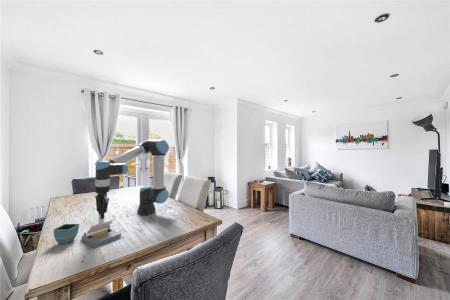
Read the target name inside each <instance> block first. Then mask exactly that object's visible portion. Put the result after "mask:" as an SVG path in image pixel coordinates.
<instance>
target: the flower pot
mask: <svg viewBox="0 0 450 300" xmlns="http://www.w3.org/2000/svg"><path fill="white" fill-rule="evenodd" d="M79 229H80V223H65V224H62V225H60V226H59V227H57V228H56V227H55V229H52V230H53V237H54V240H55V241H56V242H57V243H58V244H69V243H70V242H72V241H74V240H75V238H76V237H77V236H78V233H79Z"/></svg>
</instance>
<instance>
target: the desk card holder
mask: <svg viewBox="0 0 450 300" xmlns="http://www.w3.org/2000/svg"><path fill="white" fill-rule="evenodd" d="M104 230H107V231H108V233H105V234H102V235H99V236H96V237H93V238H91V235H92V234H94V233H97V232H100V231H104ZM120 238H122V233H121V232H119V231H116V230H115V229H112V228H111V224H110V225H109V227H108V228H105V229H101V230H98V231H95V232H92V233H89V234H87V232H83V235H81V241H83V242H84V243H85V244H88V246H90V247H92V248H93V249H95V248H97V247H100V246H102V245H105V244H107V243H110V242H113V241H115V240H118V239H120Z"/></svg>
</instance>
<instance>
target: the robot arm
mask: <svg viewBox="0 0 450 300" xmlns="http://www.w3.org/2000/svg"><path fill="white" fill-rule="evenodd" d="M169 149H170V146H169V144H168V142H167V141H166V140H164V139H147V140H145V141H143V142H141V143H138V144H137V145H136V146H134V147H132V148H131V149H129V150H126V151H124V152H123V153H121V154H119V155H117V156H114V157H113V158H111V159H109V160H99V161H96V164H95V167H94V168H95V176H94V177H95V181H94V186H95V187H94V193H96V195H95V203H96V204H95V205H96V206H95V207H96V212H97V213H98V221H97V224H100V223H104V222H105V214H106V213H107V211H108V207H109V206H108V205H109V201H110V198H108V193H109V192H110V184H111V182H110V180H111V178H110V177H111V176H117V175H124V174H127V173H128V172H129V166H128V164H127V163H129V162H130V161H132V160H134V159H136V158H138V157H139V156H141V155H142V156H144V155H146V154H150V155H151V157H152V164H153V165H152V166H153V167H152V168H153V170H152V174H153V176H152V178H153V180H152V183H153V185H147V186H141V187H140V189H139V205H138V207H137V210H136V214H137V215H138V214H139V215H140V216H149V215H148V214H150V215H153V214H155V213H156V212H155V211H157V210H156V205H155V203H156V204H164V203H165V202H167V200H168V199H169V194H170V193H169V191H168V190H167V188H166V187H167V186H166V185H165V157H166V156H167V153H168V152H169ZM154 212H155V213H154ZM152 213H153V214H152ZM139 215H138V216H139Z"/></svg>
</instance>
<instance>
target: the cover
mask: <svg viewBox="0 0 450 300" xmlns="http://www.w3.org/2000/svg"><path fill="white" fill-rule="evenodd" d="M113 221H114V220H113V219H111V220H108V221H104V223H100V224H98V223H97V224H95V225H91V226H90V227H89V229H88V230H87V232H86V234H89V233H92V232H95V231H98V230H102V229H105V228H108V227H109V225H110V226H111V224H112V222H113Z"/></svg>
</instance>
